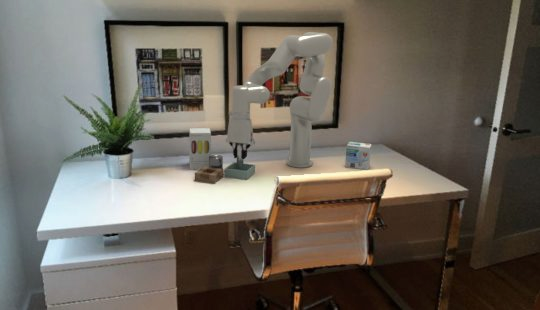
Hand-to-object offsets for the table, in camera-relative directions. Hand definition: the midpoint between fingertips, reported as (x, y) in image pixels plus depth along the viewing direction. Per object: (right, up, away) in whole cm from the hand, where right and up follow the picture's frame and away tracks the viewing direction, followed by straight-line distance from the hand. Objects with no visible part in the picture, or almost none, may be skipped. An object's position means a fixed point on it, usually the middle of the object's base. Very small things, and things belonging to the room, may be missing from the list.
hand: (240, 157), depth 202 cm
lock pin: (0, -5, +1) cm, 5 cm away
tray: (0, -7, +2) cm, 8 cm away
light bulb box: (+53, -5, +18) cm, 57 cm away
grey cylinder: (-11, -6, +5) cm, 13 cm away
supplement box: (-19, -4, +12) cm, 23 cm away
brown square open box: (-13, -9, -4) cm, 16 cm away
